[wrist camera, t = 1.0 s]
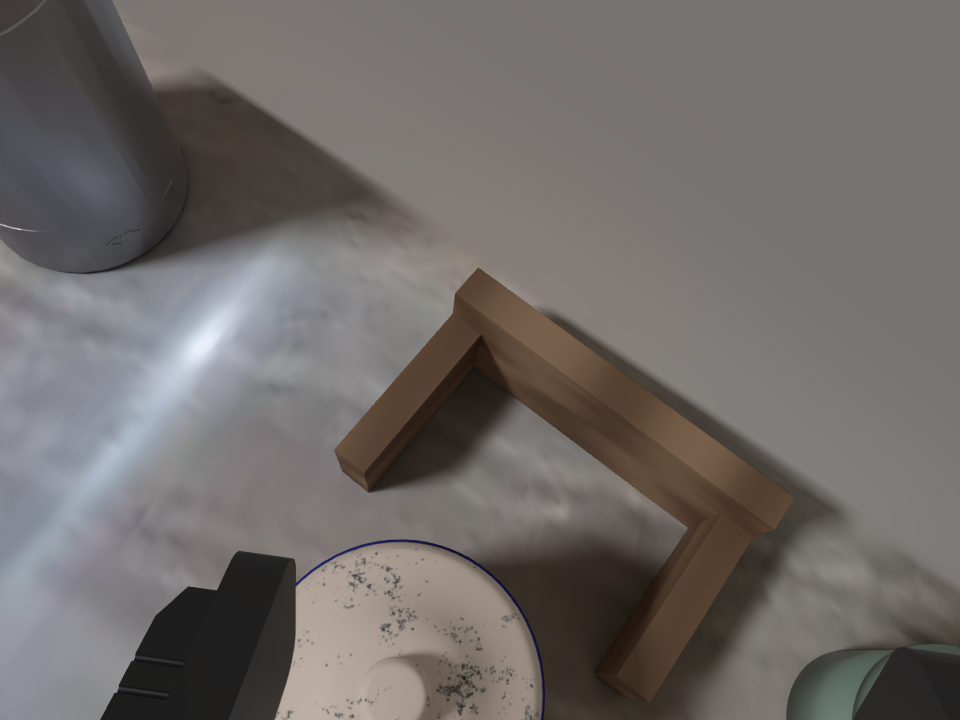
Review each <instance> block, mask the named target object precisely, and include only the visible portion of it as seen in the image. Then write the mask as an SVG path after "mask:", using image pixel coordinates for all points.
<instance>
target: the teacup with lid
mask: <svg viewBox="0 0 960 720" xmlns="http://www.w3.org/2000/svg"><path fill="white" fill-rule="evenodd" d="M544 705H545V686H544V674H543V667H542V661H541V657H540V653H539V649H538V646H537V643H536V640H535V637H534V634H533V632H532V629H531V627H530V625H529V623H528V620H527V618H526V617H525V615H524V613H523V611H522V610H521V608H520V606H519V605H518V603H517V602H516V600H515V599H514V598H513V596H512V595H511V594H510V592H509V591H508V590H507V589H506V588H505V587H504V585H503V584H502V583H501V582H500V581H499V580H498V579H497V578H496V577H495V576H494V575H492V574H491V573H490V572H489V571H487V570H486V569H485V568H484V567H483V566H481V565H480V564H478V563H477V562H475V561H473V560H472V559H470V558H469V557H467V556H465V555H463V554H461V553H459V552H457V551H454V550H452V549H449V548H447V547H444V546H440V545H437V544H433V543H429V542H423V541H417V540H385V541H377V542H372V543H367V544H363V545H360V546H357V547H354V548H351V549H348V550H346V551H344V552H341V553H339V554H337V555H335V556H333V557H331V558H329V559H328V560H326V561H324V562H322V563H321V564H320V565H318V566H317V567H315V568H314V569H312V570H311V571H310V572H308V573H307V574H306V575H305V576H304V577H302V578H301V579H300V580H299V581H298V582H297V583H296V637H295V647H294V653H293V659H292V663H291V668H290V672H289V676H288V680H287V683H286V686H285V689H284V692H283V695H282V698H281V702H280V705H279V708H278V711H277V714H276V717H275V720H543V716H544Z"/></svg>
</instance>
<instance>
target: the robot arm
mask: <svg viewBox="0 0 960 720" xmlns="http://www.w3.org/2000/svg"><path fill="white" fill-rule="evenodd" d="M187 192H188V172H187V167H186V162H185V159H184V156H183V154H182V152H181V150H180V148H179V145H178V143H177V141H176V139H175V137H174V134H173V132H172V130H171V128H170V126H169V124H168V121H167V119H166V117H165V115H164V113H163V110H162V108H161V105H160V103H159V101H158V99H157V96H156V94H155V92H154V90H153V88H152V85H151V83H150V81H149V79H148V77H147V75H146V72H145V70H144V68H143V66H142V64H141V62H140V59H139V57H138V55H137V53H136V51H135V49H134V46H133V44H132V42H131V40H130V38H129V36H128V33H127V31H126V29H125V27H124V25H123V23H122V20H121V18H120V16H119V14H118V12H117V10H116V7H115V5H114V3H113V1H112V0H0V239H1V240H2V241H3V242H4V243H5V244H6V245H7V246H8V247H10V248H11V249H12V250H13V251H14V252H16V253H17V254H18V255H19V256H20V257H22V258H24V259H26V260H28V261H30V262H32V263H34V264H36V265H38V266H40V267H44V268H48V269H52V270H55V271H59V272H75V273H84V272H92V271H101V270H105V269H108V268H112V267H115V266H118V265H122V264H124V263H126V262H128V261H130V260H132V259H134V258H136V257H138V256H140V255H142V254H144V253H145V252H146V251H148V250H149V249H150V248H152V247H153V246H154V245H156V244H157V243H158V242H159V241H160V240H161V239H162V238H163V237H164V236H165V235H166V234H167V233H168V231H169V230H170V229H171V228H172V227H173V225H174V224H175V222H176V220H177V218H178V217H179V215H180V213H181V211H182V209H183V206H184V203H185V199H186V196H187ZM295 637H296V564H295V560H294V559H293V558H286V557H279V556H272V555H265V554H258V553H251V552H243V551H238V552H237V553H236V554H235V555H234V556H233V558H232V560H231V562H230V564H229V566H228V568H227V570H226V572H225V574H224V577H223V579H222V581H221V583H220V585H219V587H218V589H217V590H210V589H203V588H196V587H189V586H188V587H187V588H186V589H185V590H184V591H183V592H182V593H180V594H179V595H178V596H177V597H176V598H175V599H174V600H173V601H172V602H170V603H169V604H168V605H167V606H166V607H165V608H164V609H163V610H162V611H160V612H159V613H158V614H157V615H156V616H155V618H154V620H153V621H152V623H151V625H150V627H149V629H148V631H147V633H146V635H145V637H144V638H143V640H142V642H141V644H140V646H139V648H138V650H137V652H136V653H135V659H134V661H131V663H130V665H129V667H128V669H127V670H126V672H125V674H124V676H123V678H122V680H121V682H120V684H119V689H118V691H117V693H114V695H113V697H112V699H111V701H110V702H109V704H108V706H107V708H106V710H105V712H104V714H103V716H102V718H101V719H100V720H275V717H276V714H277V711H278V708H279V705H280V702H281V698H282V695H283V692H284V689H285V686H286V683H287V680H288V676H289V672H290V668H291V663H292V659H293V653H294V647H295ZM854 720H960V655H956V654H949V653H942V652H935V651H927V650H920V649H913V648H906V647H901V648H898V649H896V650H895V651H894V652H893V653H892V654H891V656H890V657H889V659H888V661H887V662H886V664H885V666H884V667H883V669H882V671H881V672H880V674H879V676H878V677H877V679H876V681H875V682H874V684H873V686H872V687H871V689H870V691H869V692H868V694H867V696H866V697H865V699H864V701H863V702H862V704H861V706H860V707H859V709H858V711H857V713H856V715H855V717H854Z"/></svg>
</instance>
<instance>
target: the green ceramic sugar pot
mask: <svg viewBox="0 0 960 720" xmlns="http://www.w3.org/2000/svg"><path fill="white" fill-rule="evenodd" d="M906 648H913V649H920V650H927V651H935V652H942V653H949V654H956V655H960V647H957V646H952V645H944V644H919V645H910V646H906ZM894 651H895V650H842V651H834V652H830V653H827V654H824V655H822V656H820V657H818V658H816V659H814V660H813V661H812V662H810V663H809V664H808V665H807V666H806V667H805V668H804V669H803V670H802V671H801V672H800V674H799V675H798V677H797V678H796V680H795V682H794V684H793V686H792V688H791V692H790V695H789V698H788V704H787V713H786V720H854V717H855V715H856V713H857V711H858V709H859V707H860V706H861V704H862V702H863V701H864V699H865V697H866V696H867V694H868V692H869V691H870V689H871V687H872V686H873V684H874V682H875V681H876V679H877V677H878V676H879V674H880V672H881V671H882V669H883V667H884V666H885V664H886V662H887V661H888V659H889V657H890V656H891V654H892V653H893V652H894Z"/></svg>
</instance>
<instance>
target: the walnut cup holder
mask: <svg viewBox="0 0 960 720" xmlns="http://www.w3.org/2000/svg"><path fill="white" fill-rule="evenodd" d="M473 367H475V368H477V369H478V370H479V371H481V372H482V373H483V374H485V375H486V376H487V377H489V378H490V379H491V380H493V381H494V382H495V383H497V384H498V385H499V386H501V387H502V388H503V389H505V390H506V391H507V392H508V393H510V394H511V395H512V396H514V397H515V398H516V399H518V400H519V401H520V402H522V403H523V404H524V405H526V406H527V407H528V408H530V409H531V410H532V411H534V412H535V413H536V414H538V415H539V416H540V417H542V418H543V419H544V420H546V421H547V422H548V423H550V424H551V425H552V426H554V427H555V428H556V429H558V430H559V431H560V432H562V433H563V434H564V435H566V436H567V437H568V438H570V439H571V440H572V441H574V442H575V443H576V444H578V445H579V446H580V447H582V448H583V449H584V450H586V451H587V452H588V453H589V454H591V455H592V456H593V457H595V458H596V459H597V460H599V461H600V462H601V463H603V464H604V465H605V466H607V467H608V468H609V469H611V470H612V471H613V472H615V473H616V474H617V475H619V476H620V477H621V478H623V479H624V480H625V481H627V482H628V483H629V484H631V485H632V486H633V487H635V488H636V489H637V490H639V491H640V492H641V493H643V494H644V495H645V496H647V497H648V498H649V499H651V500H652V501H653V502H655V503H656V504H657V505H659V506H660V507H661V508H663V509H664V510H665V511H667V512H668V513H669V514H670V515H672V516H673V517H674V518H676V519H677V520H678V521H680V522H681V523H682V524H684V525H685V526H686V527H688V530H687V531H686V533H685V534H684V536H683V537H682V539H681V540H680V542H679V543H678V545H677V546H676V548H675V549H674V551H673V552H672V554H671V555H670V557H669V558H668V560H667V562H666V563H665V565H664V566H663V568H662V569H661V571H660V572H659V574H658V575H657V577H656V578H655V580H654V581H653V583H652V584H651V586H650V587H649V589H648V590H647V592H646V593H645V595H644V596H643V598H642V600H641V601H640V603H639V604H638V606H637V607H636V609H635V610H634V612H633V613H632V615H631V616H630V618H629V619H628V621H627V622H626V624H625V625H624V627H623V628H622V630H621V631H620V633H619V634H618V636H617V637H616V639H615V641H614V642H613V644H612V645H611V647H610V648H609V650H608V651H607V653H606V654H605V656H604V657H603V659H602V660H601V662H600V663H599V665H598V666H597V668H596V669H595V671H594V672H593V673H594V674H595V675H597V676H598V677H599V678H600V679H602V680H603V681H604V682H605V683H606V684H608V685H609V686H610V687H611V688H613V689H614V690H615V691H616V692H618V693H619V694H620V695H621V696H623V697H626V698H631V699H636V700H640V701H645V702H651V701H652V699H653V697H654V696H655V694H656V693H657V691H658V689H659V688H660V686H661V685H662V683H663V681H664V680H665V678H666V677H667V675H668V673H669V672H670V670H671V669H672V667H673V665H674V664H675V662H676V661H677V659H678V657H679V656H680V654H681V653H682V651H683V649H684V648H685V646H686V644H687V643H688V641H689V640H690V638H691V636H692V635H693V633H694V632H695V630H696V628H697V627H698V625H699V624H700V622H701V620H702V619H703V617H704V616H705V614H706V612H707V611H708V609H709V608H710V606H711V604H712V603H713V601H714V600H715V598H716V596H717V595H718V593H719V592H720V590H721V588H722V587H723V585H724V583H725V582H726V580H727V579H728V577H729V575H730V574H731V572H732V571H733V569H734V567H735V566H736V564H737V563H738V561H739V559H740V558H741V556H742V555H743V553H744V551H745V550H746V548H747V547H748V545H749V543H750V542H751V540H752V539H753V537H755V536H758V535H761V534H764V533H767V532H770V531H773V530H775V529H776V528H777V526H778V524H779V523H780V521H781V519H782V518H783V516H784V515H785V513H786V511H787V510H788V508H789V506H790V505H791V503H792V502H793V500H794V497H793V496H791V495H790V494H788V493H787V492H786V491H784V490H783V489H782V488H780V487H779V486H778V485H776V484H775V483H773V482H772V481H771V480H769V479H768V478H767V477H765V476H764V475H762V474H761V473H760V472H758V471H757V470H756V469H754V468H753V467H751V466H750V465H749V464H747V463H746V462H745V461H743V460H742V459H740V458H739V457H738V456H736V455H735V454H734V453H732V452H731V451H729V450H728V449H727V448H725V447H724V446H723V445H721V444H720V443H718V442H717V441H716V440H714V439H713V438H712V437H710V436H709V435H708V434H706V433H705V432H703V431H702V430H701V429H699V428H698V427H697V426H695V425H694V424H692V423H691V422H690V421H688V420H687V419H686V418H684V417H683V416H681V415H680V414H679V413H677V412H676V411H675V410H673V409H672V408H670V407H669V406H668V405H666V404H665V403H664V402H662V401H661V400H659V399H658V398H657V397H655V396H654V395H653V394H651V393H650V392H648V391H647V390H646V389H644V388H643V387H642V386H640V385H639V384H638V383H636V382H635V381H633V380H632V379H631V378H629V377H628V376H627V375H625V374H624V373H622V372H621V371H620V370H618V369H617V368H616V367H614V366H613V365H611V364H610V363H609V362H607V361H606V360H605V359H603V358H602V357H600V356H599V355H598V354H596V353H595V352H594V351H592V350H591V349H589V348H588V347H587V346H585V345H584V344H583V343H581V342H580V341H578V340H577V339H576V338H574V337H573V336H572V335H570V334H569V333H568V332H566V331H565V330H563V329H562V328H561V327H559V326H558V325H557V324H555V323H554V322H552V321H551V320H550V319H548V318H547V317H546V316H544V315H543V314H541V313H540V312H539V311H537V310H536V309H535V308H533V307H532V306H530V305H529V304H528V303H526V302H525V301H524V300H522V299H521V298H519V297H518V296H517V295H515V294H514V293H513V292H511V291H510V290H508V289H507V288H506V287H504V286H503V285H502V284H500V283H499V282H498V281H496V280H495V279H493V278H492V277H491V276H489V275H488V274H487V273H485V272H484V271H482V270H481V269H480V268H477V269H476V271H475V272H474V273H473V274H472V275H471V276H470V277H469V279H468V280H467V281H466V282H465V283H464V284H463V285H462V286H461V288H460V289H459V290H458V291H457V292H456V293H455V300H454V308H453V314H452V315H451V316H450V317H449V319H448V320H447V321H446V322H445V323H444V324H443V326H442V327H441V328H440V329H439V330H438V331H437V332H436V334H435V335H434V336H433V337H432V338H431V339H430V340H429V342H428V343H427V344H426V345H425V346H424V347H423V348H422V350H421V351H420V352H419V353H418V354H417V355H416V357H415V358H414V359H413V360H412V361H411V362H410V363H409V365H408V366H407V367H406V368H405V369H404V370H403V371H402V373H401V374H400V375H399V376H398V377H397V378H396V380H395V381H394V382H393V383H392V384H391V385H390V386H389V388H388V389H387V390H386V391H385V392H384V393H383V394H382V396H381V397H380V398H379V399H378V400H377V401H376V402H375V404H374V405H373V406H372V407H371V408H370V409H369V411H368V412H367V413H366V414H365V415H364V416H363V417H362V419H361V420H360V421H359V422H358V423H357V424H356V425H355V427H354V428H353V429H352V430H351V431H350V432H349V433H348V435H347V436H346V437H345V438H344V439H343V440H342V442H341V443H340V444H339V445H338V446H337V447H336V448H335V450H334V451H335V453H336V456H337V458H338V461H339V463H340V466H341V469H342V471H343V472H344V473H345V474H346V475H348V476H349V477H350V478H351V479H353V480H354V481H355V482H356V483H358V484H359V485H360V486H361V487H363V488H364V489H365V490H366V491H367V492H370V491H371V490H372V489H373V487H374V486H375V485H376V484H377V483H378V481H379V480H380V479H381V478H382V477H383V475H384V474H385V473H386V472H387V471H388V469H389V468H390V467H391V466H392V465H393V463H394V462H395V461H396V460H397V459H398V457H399V456H400V455H401V454H402V453H403V451H404V450H405V449H406V448H407V447H408V445H409V444H410V443H411V442H412V441H413V439H414V438H415V437H416V436H417V435H418V433H419V432H420V431H421V430H422V429H423V427H424V426H425V425H426V424H427V423H428V421H429V420H430V419H431V418H432V417H433V415H434V414H435V413H436V412H437V411H438V409H439V408H440V407H441V406H442V405H443V403H444V402H445V401H446V400H447V399H448V397H449V396H450V395H451V394H452V393H453V391H454V390H455V389H456V388H457V387H458V385H459V384H460V383H461V382H462V381H463V379H464V378H465V377H466V376H467V375H468V373H469V372H470V371H471V370H472V369H473Z"/></svg>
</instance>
